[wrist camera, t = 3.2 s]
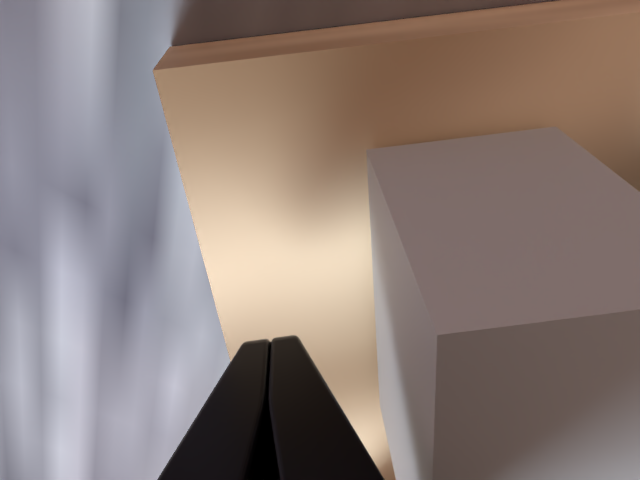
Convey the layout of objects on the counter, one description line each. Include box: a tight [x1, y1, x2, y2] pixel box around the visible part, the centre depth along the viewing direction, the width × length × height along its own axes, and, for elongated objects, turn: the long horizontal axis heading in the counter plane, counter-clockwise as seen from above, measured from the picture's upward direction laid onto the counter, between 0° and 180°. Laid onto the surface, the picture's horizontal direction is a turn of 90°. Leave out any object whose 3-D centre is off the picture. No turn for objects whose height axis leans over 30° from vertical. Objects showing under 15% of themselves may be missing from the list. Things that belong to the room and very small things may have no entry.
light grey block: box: [366, 126, 640, 480], centre depth 8 cm, size 6×5×4 cm
